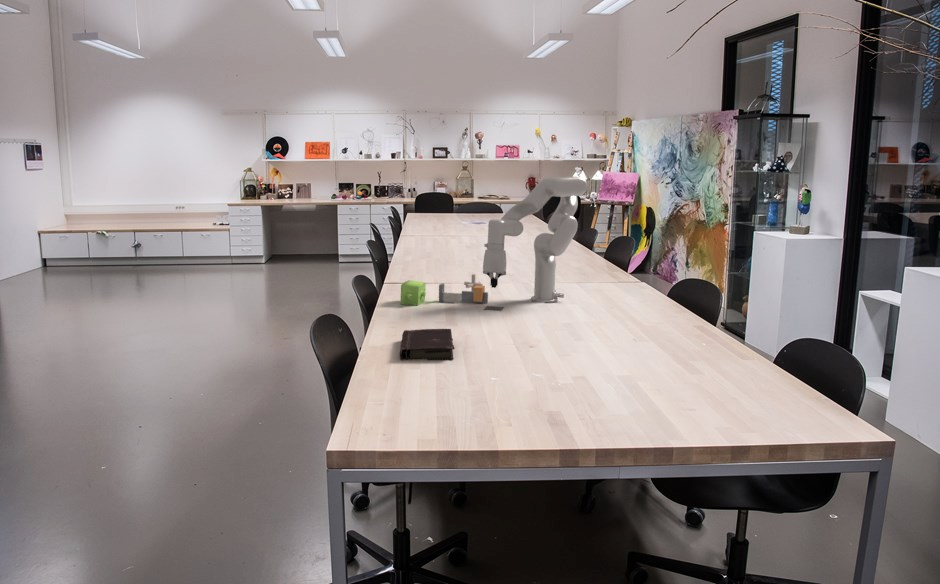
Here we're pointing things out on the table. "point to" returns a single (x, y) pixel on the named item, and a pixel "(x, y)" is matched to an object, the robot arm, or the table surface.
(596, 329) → the table surface
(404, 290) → the green square teapot
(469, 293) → the rail
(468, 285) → the pipe connector
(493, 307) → the pad
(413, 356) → the diary
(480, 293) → the clip
